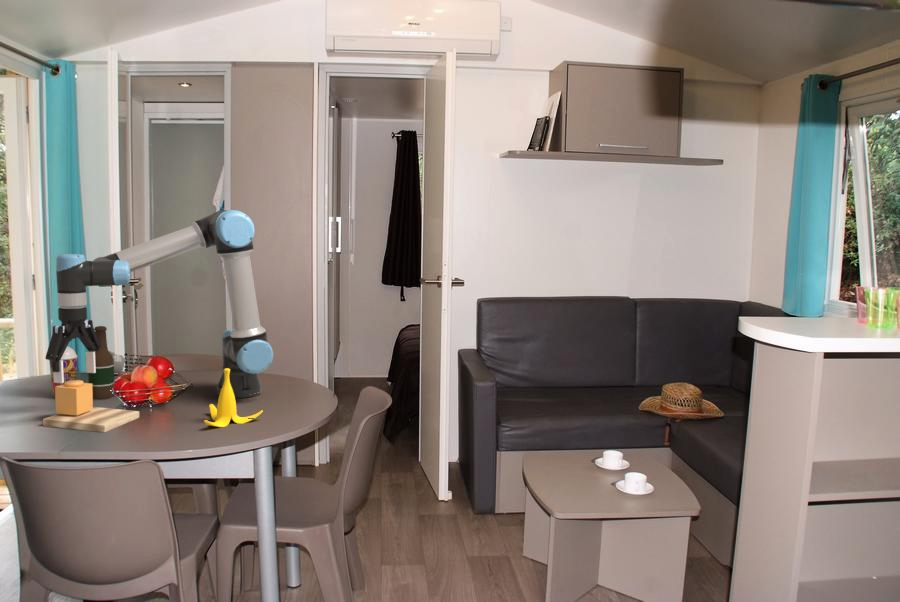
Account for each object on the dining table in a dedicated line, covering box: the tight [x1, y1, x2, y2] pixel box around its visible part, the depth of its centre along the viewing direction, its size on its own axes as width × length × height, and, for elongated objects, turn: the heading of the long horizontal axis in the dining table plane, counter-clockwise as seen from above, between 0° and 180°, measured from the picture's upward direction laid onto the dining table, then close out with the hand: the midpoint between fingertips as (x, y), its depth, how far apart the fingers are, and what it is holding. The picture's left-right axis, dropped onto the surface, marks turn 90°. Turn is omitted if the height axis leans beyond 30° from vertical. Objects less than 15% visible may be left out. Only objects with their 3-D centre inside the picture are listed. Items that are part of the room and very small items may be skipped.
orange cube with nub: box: [54, 379, 94, 415], centre depth 213 cm, size 7×7×9 cm
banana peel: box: [203, 368, 264, 428], centre depth 215 cm, size 16×19×17 cm
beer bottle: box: [87, 325, 115, 400], centre depth 240 cm, size 8×8×24 cm
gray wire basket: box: [108, 350, 154, 376], centre depth 270 cm, size 27×11×10 cm, turn 83°
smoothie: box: [49, 346, 79, 397], centre depth 238 cm, size 8×8×20 cm
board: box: [42, 406, 140, 433], centre depth 212 cm, size 20×16×9 cm
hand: (75, 377), depth 212 cm, fingers open, 13 cm apart
